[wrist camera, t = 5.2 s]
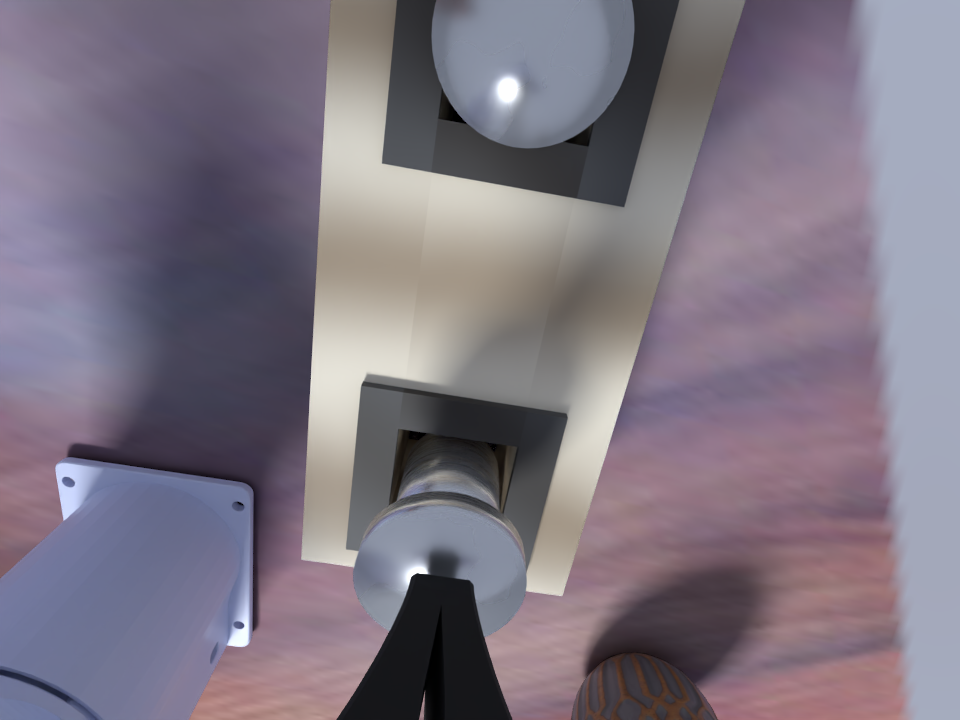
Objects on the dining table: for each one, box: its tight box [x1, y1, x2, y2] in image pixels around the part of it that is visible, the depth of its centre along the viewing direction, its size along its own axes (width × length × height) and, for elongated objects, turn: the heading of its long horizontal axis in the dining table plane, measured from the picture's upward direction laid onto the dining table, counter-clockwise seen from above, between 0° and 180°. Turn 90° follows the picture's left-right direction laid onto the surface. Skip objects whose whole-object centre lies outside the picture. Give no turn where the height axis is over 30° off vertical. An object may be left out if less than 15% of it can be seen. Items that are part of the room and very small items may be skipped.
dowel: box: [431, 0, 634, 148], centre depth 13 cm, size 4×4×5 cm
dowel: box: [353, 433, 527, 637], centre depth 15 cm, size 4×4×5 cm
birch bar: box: [301, 0, 745, 596], centre depth 17 cm, size 20×9×5 cm, turn 170°
